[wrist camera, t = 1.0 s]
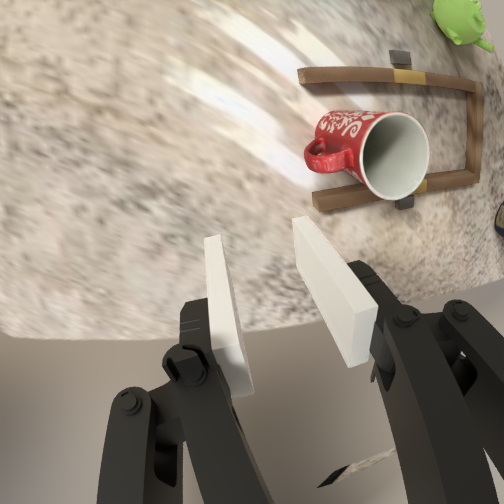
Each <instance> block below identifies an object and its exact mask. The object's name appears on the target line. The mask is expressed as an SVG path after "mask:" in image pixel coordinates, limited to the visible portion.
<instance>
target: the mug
mask: <svg viewBox="0 0 504 504" xmlns="http://www.w3.org/2000/svg"><path fill="white" fill-rule="evenodd" d="M319 153H321V154H322V155H323V156H321V155H318V154H319ZM304 158H305V162H306V165H307V167H308V168H309V169H310V170H312V171H314V172H317V173H334V172H338V171H341V170H345V171H346V172H348V173H349V174H351V175H352V176H353V177H355V178H356V179H358V180H359V181H360V182H362V183H363V184H364V185H366V186H367V187H368V188H369V189H370V190H371V191H372V192H373V193H374V194H375V195H376V196H378V197H380V198H382V199H385V200H399V199H402V198H404V197H407V196H408V195H410V194H411V193H412V192H414V191H415V190H416V189H417V188H418V186H419V185H420V184H421V182H422V181H423V179H424V177H425V175H426V172H427V169H428V165H429V160H430V147H429V141H428V138H427V135H426V133H425V131H424V129H423V127H422V125H421V124H420V123H419V122H418V121H417V120H416V119H415V118H414V117H412V116H411V115H409V114H407V113H404V112H398V111H394V112H388V113H385V112H370V111H348V110H336V111H332V112H329V113H327V114H326V115H325V116H323V117H322V119H321V120H320V121H319V123H318V125H317V127H316V131H315V140H313V141H312V142H311V143H310V144H309V145H308V146H307V147H306V148H305V150H304Z"/></svg>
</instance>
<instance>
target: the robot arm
mask: <svg viewBox="0 0 504 504" xmlns="http://www.w3.org/2000/svg"><path fill="white" fill-rule="evenodd" d="M292 225H293V235H294V245H295V255H296V266H297V269H298V271H299V273H300V275H301V276H302V278H303V280H304V282H305V284H306V286H307V288H308V290H309V292H310V293H311V295H312V297H313V299H314V301H315V303H316V305H317V307H318V309H319V311H320V313H321V315H322V317H323V318H324V320H325V322H326V324H327V326H328V328H329V330H330V332H331V334H332V336H333V338H334V340H335V342H336V344H337V346H338V348H339V350H340V352H341V354H342V356H343V358H344V360H345V362H346V364H347V366H348V368H350V367H353V366H356V365H359V364H361V363H364V362H367V361H368V358H369V353H371V354H372V356H373V358H374V359H375V363H374V367H373V370H372V374H371V382H374V379H375V376H376V379H377V382H378V385H379V388H380V392H381V395H382V398H383V402H384V405H385V409H386V411H387V415H388V419H389V423H390V426H391V430H392V434H393V438H394V441H395V445H396V449H397V454H398V458H399V462H400V466H401V471H402V475H403V480H404V484H405V489H406V494H407V499H408V504H499V502H498V498H497V493H496V489H495V485H494V482H493V478H492V474H491V471H490V468H489V464H488V461H487V458H486V455H485V452H484V449H485V451H486V452H487V454H488V455H489V457H490V459H491V460H492V462H493V463H494V465H495V467H496V468H497V470H498V472H499V473H500V475H501V476H502V478H503V480H504V337H503V336H502V335H501V334H500V333H499V332H498V331H497V330H496V329H495V328H494V327H493V326H492V325H491V324H490V323H489V322H488V321H487V320H486V319H485V318H484V317H483V316H482V315H481V314H480V313H479V312H478V311H477V310H476V309H475V308H474V307H473V306H472V305H470V304H469V303H467V302H465V301H462V300H451V301H449V302H447V303H446V304H445V306H444V309H443V312H438V313H428V314H421V313H420V311H419V310H418V309H416V308H414V307H412V306H409V305H405V304H404V305H402V304H401V303H400V301H399V300H398V299H397V298H396V297H395V295H394V294H393V293H392V292H391V291H390V289H389V288H388V287H387V286H386V285H385V283H384V282H382V280H381V279H380V277H379V276H378V275H376V273H375V272H374V270H373V269H372V268H371V267H370V266H369V265H367V264H365V263H363V262H362V261H360V260H358V261H354V262H350V263H345V261H344V260H343V259H342V258H341V256H340V255H339V254H338V252H337V251H336V250H335V249H334V247H333V246H332V245H331V244H330V242H329V241H328V240H327V239H326V238H325V236H324V235H323V234H322V233H321V231H320V230H319V229H318V228H317V227H316V225H315V224H314V223H313V222H312V221H311V219H310V218H309V217H308V216H303V217H298V218H293V219H292ZM204 247H205V266H206V282H207V297H208V298H203V299H199V300H194V301H189V302H186V303H185V305H184V306H183V308H182V310H181V312H180V338H179V339H180V341H179V344H177V345H175V346H173V347H172V348H170V350H168V351H167V352H166V354H165V356H164V358H163V363H162V367H163V368H164V370H165V372H166V373H167V375H168V376H169V378H170V379H171V380H170V381H169V382H168V383H166V384H165V385H163V386H160V387H158V388H156V389H154V390H151V391H149V392H147V391H146V390H144V389H142V388H140V387H129V388H126V389H124V390H122V391H121V392H119V393H118V394H117V396H116V397H115V398H114V400H113V403H112V406H111V411H110V415H109V421H108V426H107V432H106V437H105V443H104V449H103V455H102V462H101V469H100V476H99V485H98V494H97V504H183V485H182V484H183V442H184V441H186V443H187V447H188V450H189V454H190V458H191V462H192V465H193V468H194V472H195V475H196V479H197V482H198V485H199V489H200V492H201V495H202V498H203V501H204V504H275V503H274V501H273V499H272V497H271V495H270V492H269V490H268V488H267V486H266V484H265V481H264V479H263V477H262V475H261V473H260V470H259V468H258V466H257V464H256V461H255V459H254V456H253V454H252V452H251V449H250V447H249V444H248V442H247V440H246V437H245V434H244V432H243V429H242V427H241V425H240V422H239V419H238V417H237V414H236V412H235V409H234V407H233V405H232V399H231V396H232V398H233V399H234V398H239V397H244V396H249V395H253V394H255V393H254V388H253V384H252V379H251V375H250V370H249V365H248V360H247V355H246V350H245V345H244V340H243V335H242V330H241V325H240V320H239V315H238V310H237V305H236V300H235V295H234V289H233V284H232V280H231V276H230V272H229V268H228V264H227V259H226V255H225V251H224V247H223V243H222V239H221V235H215V236H211V237H207V238H204ZM461 351H462V352H463V353H464V354H465V355H466V357H464V356H463V355H461V354H460V353H461ZM483 448H484V449H483Z"/></svg>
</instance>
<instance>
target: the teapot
mask: <svg viewBox="0 0 504 504" xmlns="http://www.w3.org/2000/svg"><path fill="white" fill-rule="evenodd" d="M481 8H482V5H481V3H480V2H479V1H477V0H473V1H470V0H434V3H433V12H432V11H431V12H430V16H431V18H432V19H433V20H436V22H437V24H438V26H439V27H440V29H441V30H442V31H443V32H444V34H445V35H446V37H447V38H449V39H451V40H452V41H453V42H454V43H455V44H456V45H460V44H469V43H474V44H476V45H478V46H480V47H481V48H483V49H485V50H487V51H488V52H490V53H492V51H493V47H494V46H493V45H491V44H489V43H487V42H486V41H484V40H482V39H481V38H479V37H480V36H481V35H482V34H483V32H484V30H485V21H484V17H483V15H482V13H481V11H480V9H481Z"/></svg>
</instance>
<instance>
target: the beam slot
mask: <svg viewBox="0 0 504 504" xmlns="http://www.w3.org/2000/svg"><path fill="white" fill-rule="evenodd" d="M389 53H390V60H391V63H394V64H403V65H411V58H410V52H405V51H397V50H390V51H389ZM297 71H298V77H299V84H306V83H322V82H392V83H408V84H420V85H429V86H438V87H445V88H452V89H459V90H465V91H466V95H467V151H466V167H465V169H464V170H455V171H447V172H439V173H431V174H426V175H425V177H424V179H423V181H422V182H421V184H420V185H419V186H418V188H417V189H416V190H415V191H414V192H412V193H411V194H410V195H408V196H407V197H404V198H402V199H399V200H396V208H397V209H399V210H403V209H408V208H412V207H414V195H412V194H417V193H422V192H428V191H434V190H440V189H446V188H452V187H458V186H464V185H470V184H476V183H479V180H480V170H481V158H482V141H483V98H482V83H480V82H475V81H471V80H467V79H462V78H457V77H452V76H446V75H440V74H434V73H427V72H420V71H412V70H402V69H391V68H376V67H307V68H300V69H297ZM312 198H313V206H314V207H315V208H316V209H317V210H318V211H319V212H322V211H327V210H332V209H337V208H342V207H347V206H353V205H358V204H363V203H368V202H373V201H379V200H384V199H382V198H380V197H378V196H376V195H375V194H374V193H373V192H372V191H371V190H370V189H369V188H368V187H367V186H366V185H364V184H363V183H362V184H356V185H350V186H344V187H338V188H333V189H327V190H321V191H316V192H312Z"/></svg>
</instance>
